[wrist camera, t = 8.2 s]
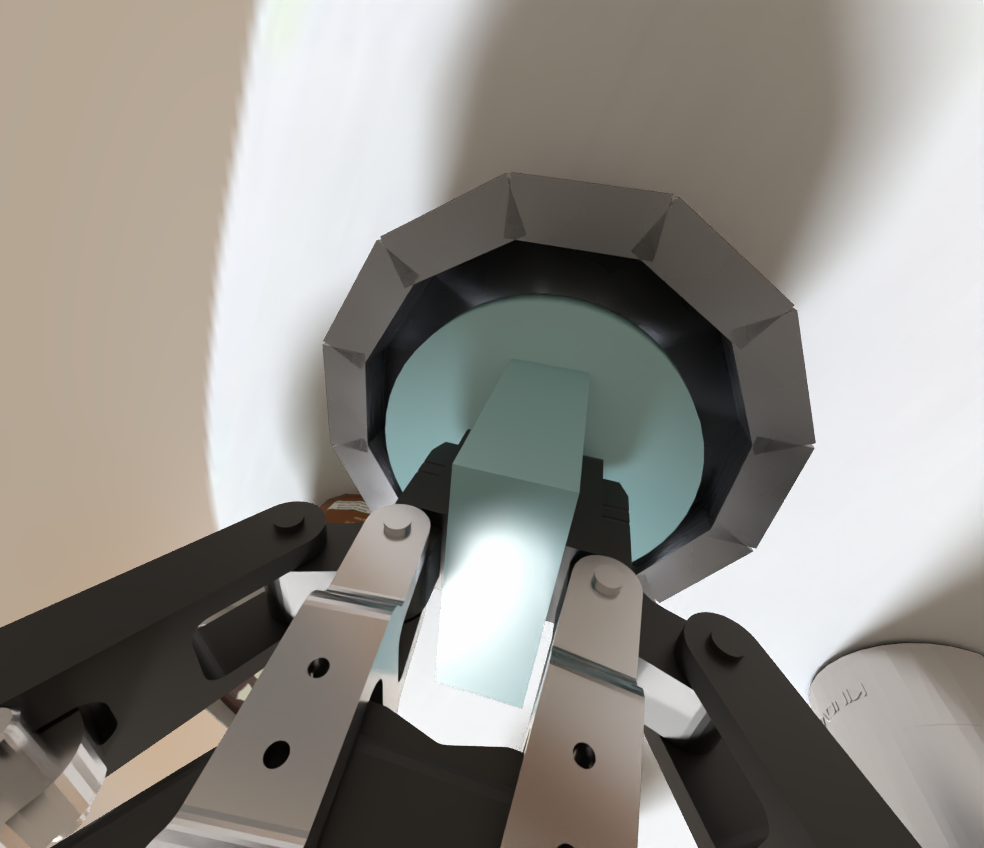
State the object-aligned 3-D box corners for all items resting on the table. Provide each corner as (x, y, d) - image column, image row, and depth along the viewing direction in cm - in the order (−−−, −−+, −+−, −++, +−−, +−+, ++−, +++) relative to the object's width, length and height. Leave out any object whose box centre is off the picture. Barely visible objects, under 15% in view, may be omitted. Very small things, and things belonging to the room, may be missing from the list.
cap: (748, 325, 11) (891, 461, 5) (644, 578, 15) (665, 791, 10) (402, 268, 12) (238, 332, 7) (400, 517, 16) (301, 675, 11)
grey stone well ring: (801, 212, 15) (941, 230, 9) (671, 517, 22) (695, 652, 16) (420, 161, 17) (306, 144, 11) (411, 454, 24) (339, 550, 18)
